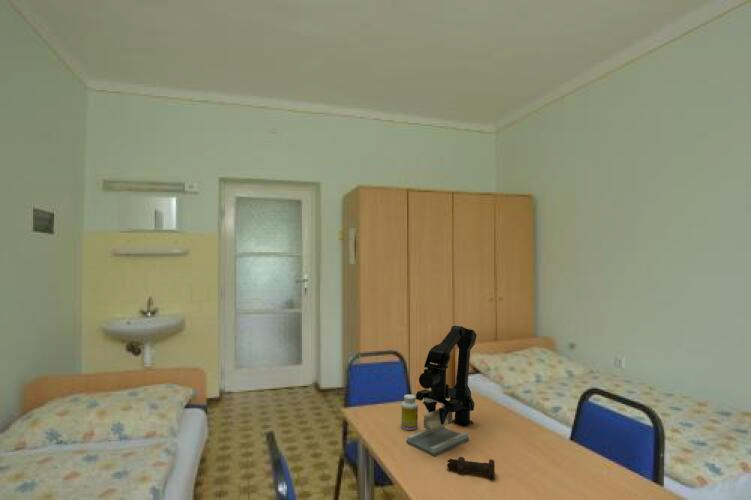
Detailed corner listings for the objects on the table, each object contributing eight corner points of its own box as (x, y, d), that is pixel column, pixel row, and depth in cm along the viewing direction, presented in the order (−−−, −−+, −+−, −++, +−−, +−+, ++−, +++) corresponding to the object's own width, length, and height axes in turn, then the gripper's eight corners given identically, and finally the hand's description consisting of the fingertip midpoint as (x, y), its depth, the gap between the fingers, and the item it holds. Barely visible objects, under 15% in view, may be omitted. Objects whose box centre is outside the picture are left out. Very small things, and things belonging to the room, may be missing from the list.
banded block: (423, 427, 160) (423, 414, 160) (444, 419, 168) (444, 406, 168) (431, 431, 157) (431, 417, 157) (452, 422, 165) (452, 409, 165)
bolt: (448, 473, 143) (494, 480, 138) (446, 472, 139) (493, 479, 134) (449, 454, 146) (494, 460, 141) (447, 453, 142) (493, 459, 137)
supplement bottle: (418, 431, 172) (418, 399, 172) (401, 430, 172) (402, 399, 172) (416, 424, 178) (417, 393, 178) (401, 423, 179) (401, 393, 179)
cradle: (440, 428, 174) (440, 422, 174) (468, 440, 164) (468, 433, 164) (406, 442, 161) (406, 436, 161) (434, 456, 151) (434, 449, 151)
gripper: (471, 383, 161) (471, 424, 161) (433, 372, 175) (433, 410, 175) (453, 389, 153) (452, 433, 154) (415, 377, 167) (414, 417, 168)
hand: (438, 422), depth 163 cm, fingers closed on banded block, 4 cm apart
